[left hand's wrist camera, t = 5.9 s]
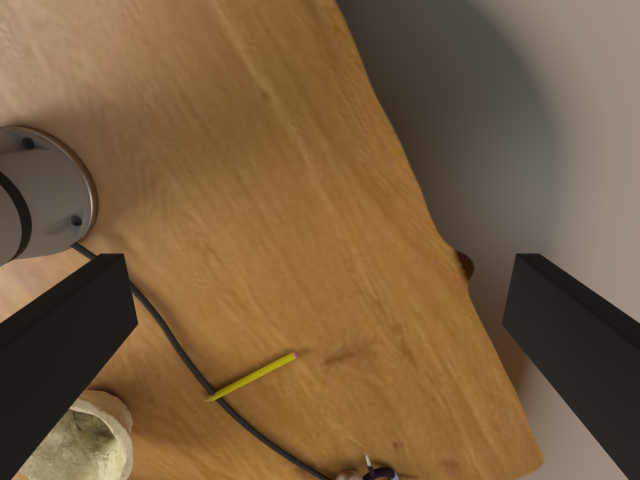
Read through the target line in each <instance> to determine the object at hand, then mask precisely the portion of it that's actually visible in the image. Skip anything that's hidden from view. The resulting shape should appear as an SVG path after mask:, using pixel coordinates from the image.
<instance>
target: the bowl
mask: <svg viewBox="0 0 640 480" xmlns="http://www.w3.org/2000/svg"><path fill="white" fill-rule="evenodd" d="M132 425H133V421H132V417H131V414H130V412H129V410H128V408H127V406H126V405H125V404H124V403H123V402H122V401H121V400H120V399H119V398H117V397H115V396H113V395H111V394H109V393H107V392H104V391H96V390H84V391H83V392H82V394H81V395H80V396H79V397H78V398H77V400H76V401H75V402H74V403H73V405H72V406H71V407H70V408H69V409H68V411H67V412H66V413H65V414H64V416H63V417H62V418H61V419H60V420H59V422H58V423H57V424H56V425H55V427H54V428H53V429H52V430H51V431H50V433H49V434H48V435H47V436H46V438H45V439H44V440H43V441H42V443H41V444H40V445H39V446H38V447H37V449H36V450H35V451H34V452H33V454H32V455H31V456H30V457H29V458H28V460H27V461H26V462H25V463H24V465H23V466H22V467H21V468H20V469H19V471H20V472H21V473H22V474H24V475H26V476H27V477H28V478H29V479H30V480H127V478H128V477H129V475H130V473H131V470H132V467H133V461H134V445H133V440H132V437H131V435H130V433H131V430H132Z"/></svg>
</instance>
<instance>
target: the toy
mask: <svg viewBox="0 0 640 480" xmlns="http://www.w3.org/2000/svg"><path fill="white" fill-rule="evenodd" d="M366 461H367V465H368V469H369V472H368V473H367V474H366V475H364V476H363V477H362V476H361V475H360V474H359V473H358V472H356V471H353V470H346V471H343V472H341V473H340V474H339V475H338V476H337V478H336V480H374V479H376V478H379V477H384V476H386V477H389V478H391V480H399V478H398V475H397V473H396V472H395V471H394V470H392V469H390V468H386V467H382V468H377V469H374V470H373V467H372V465H371V463H370V460H369V458H368V456H367V455H366Z"/></svg>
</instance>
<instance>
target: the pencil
mask: <svg viewBox="0 0 640 480" xmlns="http://www.w3.org/2000/svg"><path fill="white" fill-rule="evenodd" d="M296 358H298V354H297V352H296V351H294V352H292V353H290V354H288V355H286V356H284V357H282V358H280V359H279V360H277V361H275V362H273V363H271V364H269V365H267V366H265V367H263V368H261V369H259V370H257V371H255V372H253V373H251V374H250V375H248V376H246V377H244V378H242V379H240V380H238V381H236V382H234V383H232V384H230V385H228V386H226V387H224V388H223V389H221V390H219V391H217V392H215V394H214V395H213V396H211V395H210V396H209V397H208V398H207V399H206V400H205V401H204V402H207V401H214V400H216V399H218V398H220V397H222V396H224V395H226V394H228V393H230V392H231V391H233V390H235V389H237V388H239V387H241V386H243V385H245V384H247V383H249V382H251V381H253V380H255V379H257V378H259V377H261V376H263V375H265V374H267V373H269V372H271V371H272V370H274V369H276V368H278V367H280V366H282V365H284V364H286V363H288V362H290V361H292V360H294V359H296Z"/></svg>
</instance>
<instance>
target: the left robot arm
mask: <svg viewBox="0 0 640 480" xmlns="http://www.w3.org/2000/svg"><path fill="white" fill-rule="evenodd" d="M97 214H98V196H97V191H96V187H95V184H94V182H93V179H92V177H91V175H90V173H89V171H88V170H87V168H86V166H85V165H84V164H83V162H82V161H81V160H80V158H79V157H78V156H77V155H76V154H75V153H74V152H73V151H72V150H71V149H70V148H69V147H67V146H66V145H65V144H64V143H62V142H61V141H59V140H58V139H56V138H54V137H53V136H51V135H49V134H47V133H44V132H42V131H39V130H36V129H32V128H27V127H20V126H10V127H0V266H2V265H4V264H6V263H8V262H10V261H12V260H17V259H25V258H32V257H40V256H47V255H52V254H56V253H59V252H62V251H65V250H67V249H69V248H71V247H72V248H74V249H75V250H77V251H78V252H80V253H81V254H83V255H84V256H86V257H87V258H89V259H90V260H91V261H89V262H88V263H87V264H85V265H84V266H82V267H81V268H79V269H78V270H77V271H75V272H74V273H72V274H71V275H69V276H68V277H66V278H65V279H64V280H62V281H61V282H59V283H58V284H56V285H55V286H53V287H52V288H51V289H49V290H48V291H46V292H45V293H43V294H42V295H41V296H39V297H38V298H36V299H35V300H33V301H32V302H30V303H29V304H28V305H26V306H25V307H23V308H22V309H20V310H19V311H17V312H16V313H15V314H13V315H12V316H10V317H9V318H7V319H6V320H5V321H3V322H2V323H0V480H11V479H12V478H13V477H14V476H15V474H16V473H17V472H18V471H19V469H20V468H21V467H22V466H23V465H24V463H25V462H26V461H27V460H28V458H29V457H30V456H31V455H32V454H33V452H34V451H35V450H36V449H37V447H38V446H39V445H40V444H41V443H42V441H43V440H44V439H45V438H46V436H47V435H48V434H49V433H50V431H51V430H52V429H53V428H54V427H55V425H56V424H57V423H58V422H59V420H60V419H61V418H62V417H63V416H64V414H65V413H66V412H67V411H68V409H69V408H70V407H71V406H72V405H73V403H74V402H75V401H76V400H77V398H78V397H79V396H80V395H81V394H82V392H83V391H84V390H85V389H86V387H87V386H88V385H89V384H90V383H91V381H92V380H93V379H94V378H95V376H96V375H97V374H98V373H99V371H100V370H101V369H102V368H103V367H104V365H105V364H106V363H107V362H108V360H109V359H110V358H111V357H112V356H113V354H114V353H115V352H116V351H117V349H118V348H119V347H120V346H121V345H122V343H123V342H124V341H125V340H126V338H127V337H128V336H129V335H130V334H131V332H132V331H133V330H134V329H135V327H136V326H137V325H138V321H137V316H136V311H135V306H134V301H133V296H132V293H133V294H134V295H135V296H136V297H137V298H138V299H139V301H140V302H141V303H142V304H143V305H144V306H145V308H146V309H147V310H148V311H149V312H150V313H151V315H152V316H153V317H154V318H155V320H156V321H157V322H158V324H159V325H160V327H161V328H162V330H163V331H164V333H165V334H166V336H167V338H168V339H169V341H170V342H171V344H172V346H173V347H174V349H175V350H176V352H177V353H178V354H179V356H180V357H181V358H182V360H183V361H184V363H185V364H186V365H187V367H188V368H189V369H190V370H191V372H192V373H193V374H194V376H195V377H196V378H197V379H198V381H199V382H200V383H201V384H202V385H203V387H204V388H205V389H206V390H207V391H208V392H209V393H210V395H211V396H213V395H214V394H215V392H216V391H215V390H214V389H213V388H212V387H211V386H210V385H209V383H208V382H207V381H206V380H205V379H204V377H203V376H202V375H201V374H200V372H199V371H198V370H197V368H196V367H195V366H194V365H193V363H192V362H191V360H190V359H189V358H188V356H187V355H186V354H185V352H184V351H183V349H182V348H181V346H180V345H179V343H178V342H177V340H176V339H175V337H174V335H173V334H172V332H171V331H170V329H169V327H168V326H167V324H166V323H165V321H164V320H163V319H162V317H161V316H160V315H159V313H158V312H157V311H156V310H155V308H154V307H153V306H152V305H151V304H150V302H149V301H148V300H147V299H146V298H145V297H144V295H143V294H142V293H141V292H140V291H139V290H138V289H137V288H136V287H135V286H134V285H133V284H132V283H131V282H130V281H129V277H128V272H127V267H126V262H125V258H124V254H100V255H98V256H96V255H95V254H93V253H92V252H90V251H89V250H87V249H86V248H84V247H83V246H81V245H80V244H79V242H80V241H82V240H83V239H84V238H85V237H86V236H87V235H88V234H89V233H90V231H91V230H92V228H93V226H94V224H95V221H96V218H97ZM502 325H503V326H504V327H505V329H506V330H507V331H508V332H509V333H510V335H511V336H512V337H513V338H514V340H515V341H516V342H517V343H518V345H519V346H520V347H521V348H522V349H523V351H524V352H525V353H526V354H527V356H528V357H529V358H530V359H531V360H532V362H533V363H534V364H535V365H536V367H537V368H538V369H539V370H540V371H541V373H542V374H543V375H544V376H545V377H546V379H547V380H548V381H549V382H550V384H551V385H552V386H553V387H554V389H555V390H556V391H557V392H558V394H559V395H560V396H561V397H562V398H563V400H564V401H565V402H566V403H567V405H568V406H569V407H570V408H571V409H572V411H573V412H574V413H575V414H576V416H577V417H578V418H579V419H580V420H581V422H582V423H583V424H584V425H585V427H586V428H587V429H588V430H589V431H590V433H591V434H592V435H593V436H594V438H595V439H596V440H597V441H598V442H599V444H600V445H601V446H602V447H603V449H604V450H605V451H606V452H607V453H608V455H609V456H610V457H611V458H612V460H613V461H614V462H615V463H616V465H617V466H618V467H619V468H620V469H621V471H622V472H623V473H624V474H625V476H626V477H627V478H628V479H629V480H640V323H638V322H637V321H635V320H634V319H633V318H631V317H630V316H628V315H627V314H625V313H624V312H622V311H621V310H620V309H618V308H617V307H615V306H614V305H612V304H611V303H609V302H608V301H607V300H605V299H604V298H602V297H601V296H599V295H598V294H597V293H595V292H594V291H592V290H591V289H589V288H588V287H586V286H585V285H583V284H582V283H581V282H579V281H578V280H576V279H575V278H574V277H572V276H571V275H569V274H568V273H566V272H565V271H563V270H562V269H561V268H559V267H558V266H556V265H555V264H553V263H552V262H551V261H549V260H548V259H546V258H545V257H543V256H542V255H540V254H516V258H515V262H514V267H513V272H512V277H511V282H510V287H509V292H508V296H507V301H506V306H505V311H504V316H503V321H502ZM216 401H217V402H218V403H219V404H220V405H221V406H222V407H223V408H224V409H225V410H226V411H227V412H228V413H229V414H230V415H231V416H232V417H233V418H234V419H235V420H236V421H237V422H238V423H240V424H241V425H242V426H243V427H244V428H245V429H247V430H248V431H249V432H250V433H251V434H253V435H254V436H255V437H256V438H258V439H259V440H260V441H262V442H263V443H264V444H266V445H267V446H269V447H270V448H271V449H273V450H274V451H276V452H277V453H279V454H280V455H282V456H283V457H285V458H286V459H288V460H289V461H291V462H292V463H294V464H295V465H297V466H299V467H300V468H302V469H304V470H305V471H307V472H309V473H311V474H312V475H314V476H316V477H317V478H319V479H321V480H331V479H330V478H328V477H326V476H324V475H323V474H321V473H319V472H318V471H316V470H314V469H313V468H311V467H309V466H308V465H306V464H304V463H303V462H301V461H299V460H298V459H296V458H294V457H293V456H291V455H290V454H288V453H287V452H285V451H284V450H282V449H281V448H279V447H278V446H277V445H275V444H274V443H272V442H271V441H269V440H268V439H267V438H265V437H264V436H263V435H261V434H260V433H259V432H258V431H256V430H255V429H254V428H253V427H252V426H250V425H249V424H248V423H247V422H246V421H245V420H243V419H242V418H241V417H240V416H239V415H238V414H237V413H236V412H235V411H234V410H233V409H232V408H231V407H230V406H229V405H228V404H227V403H226V402H225V401H224V400H223V399H222V398H221V397H220V398H218V399H216Z"/></svg>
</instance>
